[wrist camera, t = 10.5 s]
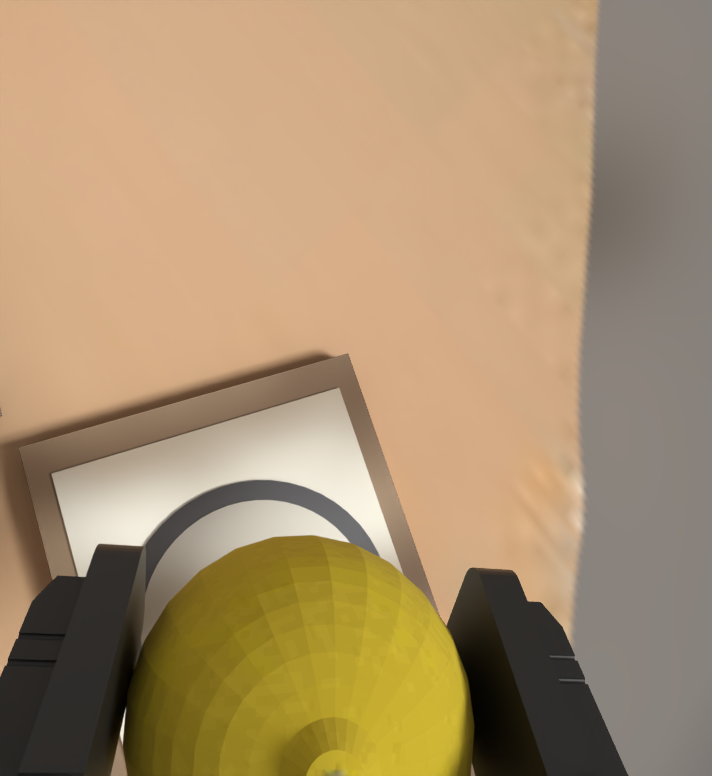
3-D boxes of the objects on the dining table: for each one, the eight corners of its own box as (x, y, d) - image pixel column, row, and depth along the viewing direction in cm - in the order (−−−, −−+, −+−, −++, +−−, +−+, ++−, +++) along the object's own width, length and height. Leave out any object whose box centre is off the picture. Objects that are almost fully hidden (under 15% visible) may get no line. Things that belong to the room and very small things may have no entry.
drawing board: (26, 451, 23) (15, 446, 21) (343, 360, 26) (349, 351, 24) (151, 934, 20) (147, 960, 19) (485, 769, 23) (500, 782, 22)
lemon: (347, 504, 16) (460, 465, 8) (430, 730, 15) (642, 921, 7) (121, 590, 14) (2, 639, 7) (197, 846, 13) (159, 1236, 6)
